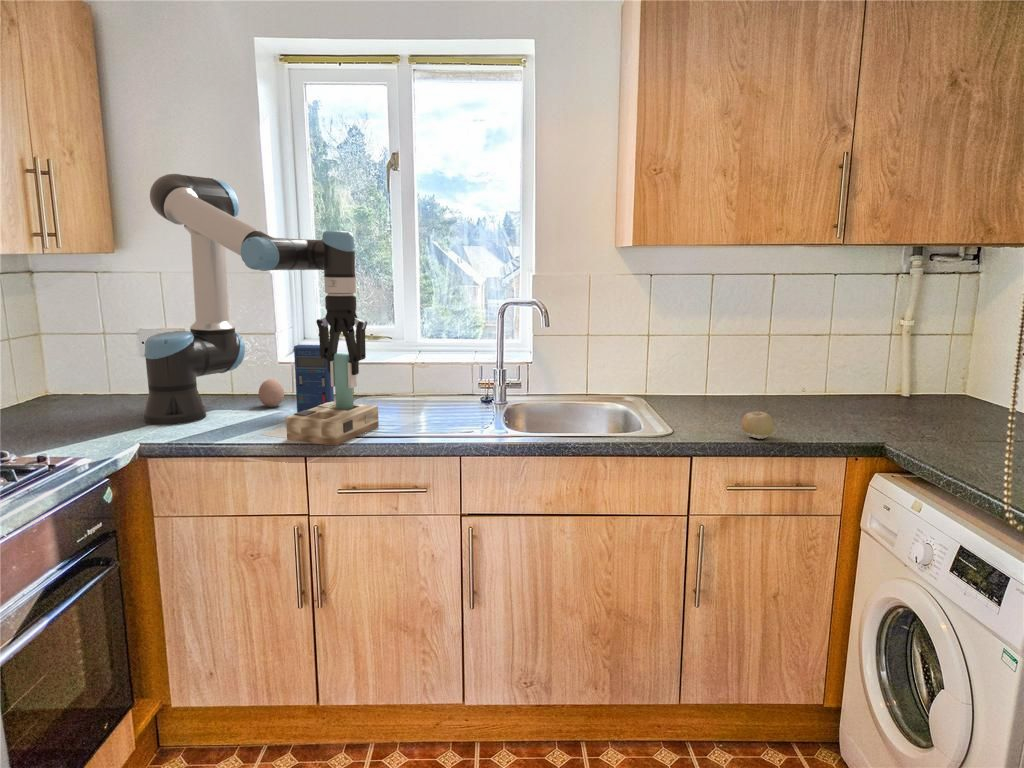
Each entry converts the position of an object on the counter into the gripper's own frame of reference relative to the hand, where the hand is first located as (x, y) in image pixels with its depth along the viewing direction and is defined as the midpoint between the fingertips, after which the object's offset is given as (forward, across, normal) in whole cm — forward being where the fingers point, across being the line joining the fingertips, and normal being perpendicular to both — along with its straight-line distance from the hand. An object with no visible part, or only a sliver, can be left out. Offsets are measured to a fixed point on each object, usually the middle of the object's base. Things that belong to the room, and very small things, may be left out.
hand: (343, 386), depth 165 cm
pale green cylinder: (+6, 0, 0) cm, 6 cm away
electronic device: (+12, -16, +10) cm, 22 cm away
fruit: (+12, +101, +33) cm, 107 cm away
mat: (+12, -12, -9) cm, 19 cm away
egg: (+12, -35, +15) cm, 40 cm away
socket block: (+12, 0, -5) cm, 12 cm away
